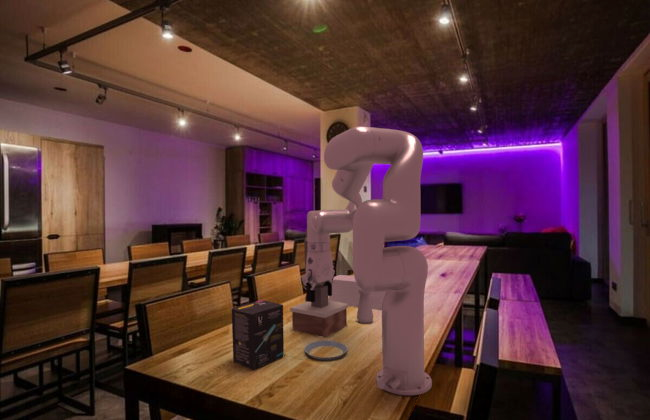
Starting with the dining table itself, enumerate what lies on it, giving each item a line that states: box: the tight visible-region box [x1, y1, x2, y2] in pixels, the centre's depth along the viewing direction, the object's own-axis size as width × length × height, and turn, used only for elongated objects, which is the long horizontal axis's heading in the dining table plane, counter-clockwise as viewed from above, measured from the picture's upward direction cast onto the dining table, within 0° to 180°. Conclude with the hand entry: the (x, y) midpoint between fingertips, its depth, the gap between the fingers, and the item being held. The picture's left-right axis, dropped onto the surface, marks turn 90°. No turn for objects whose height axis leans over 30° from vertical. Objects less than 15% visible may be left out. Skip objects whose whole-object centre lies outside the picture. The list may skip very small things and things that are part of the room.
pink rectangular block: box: [328, 274, 387, 311], centre depth 152 cm, size 32×11×11 cm, turn 60°
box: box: [291, 308, 348, 338], centre depth 121 cm, size 13×13×7 cm
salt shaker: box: [356, 288, 374, 324], centre depth 127 cm, size 6×6×13 cm
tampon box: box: [231, 299, 285, 371], centre depth 98 cm, size 11×9×15 cm
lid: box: [289, 285, 349, 318], centre depth 121 cm, size 14×14×8 cm
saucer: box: [304, 340, 348, 361], centre depth 100 cm, size 12×12×2 cm
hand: (319, 298), depth 121 cm, fingers open, 9 cm apart
